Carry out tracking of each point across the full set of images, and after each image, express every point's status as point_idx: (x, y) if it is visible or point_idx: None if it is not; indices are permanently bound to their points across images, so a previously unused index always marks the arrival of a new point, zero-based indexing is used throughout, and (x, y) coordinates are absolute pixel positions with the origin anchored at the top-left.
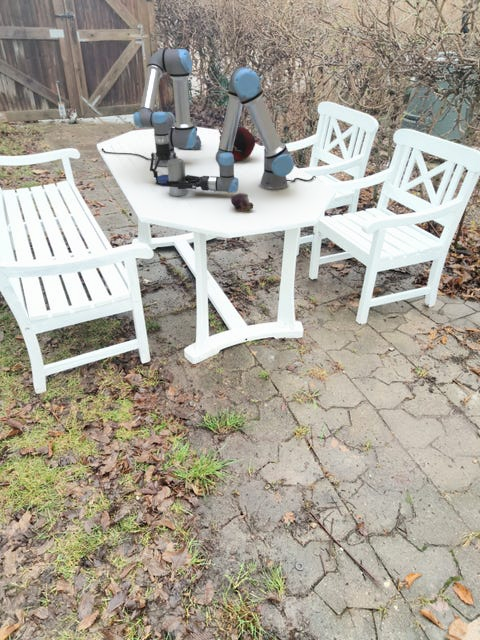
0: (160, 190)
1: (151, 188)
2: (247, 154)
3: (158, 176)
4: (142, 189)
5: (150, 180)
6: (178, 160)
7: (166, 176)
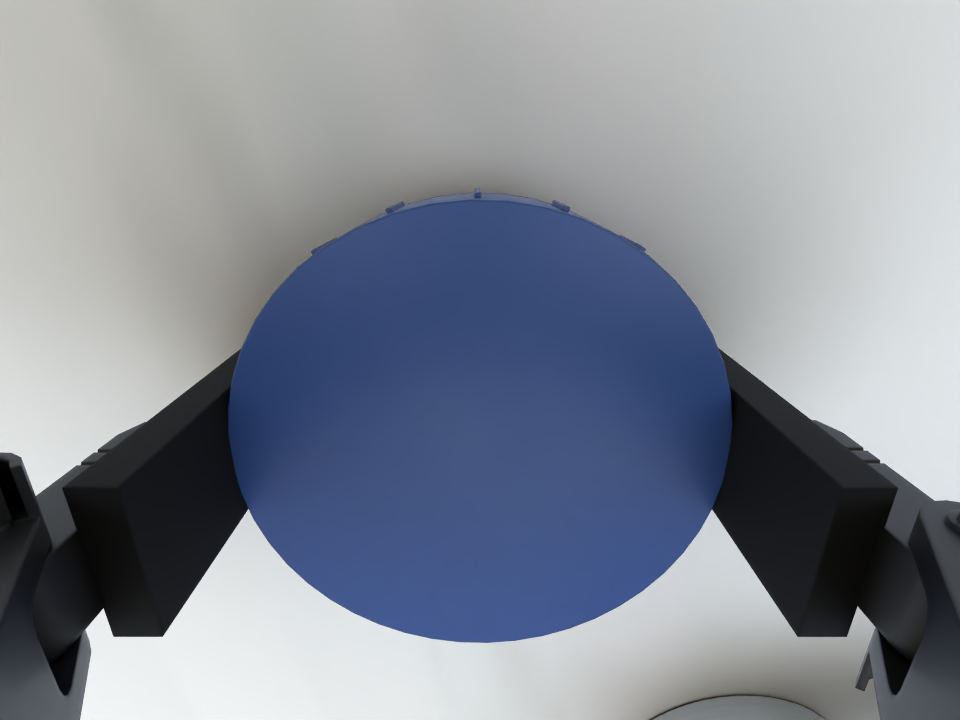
0: (439, 683)
1: (262, 610)
2: None
3: (251, 424)
4: (130, 649)
5: (11, 123)
6: None
7: (494, 422)
